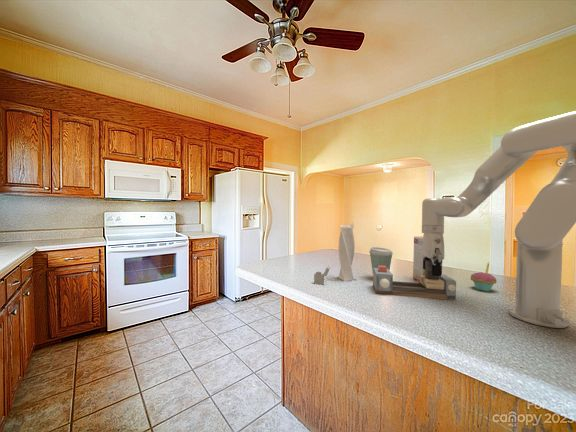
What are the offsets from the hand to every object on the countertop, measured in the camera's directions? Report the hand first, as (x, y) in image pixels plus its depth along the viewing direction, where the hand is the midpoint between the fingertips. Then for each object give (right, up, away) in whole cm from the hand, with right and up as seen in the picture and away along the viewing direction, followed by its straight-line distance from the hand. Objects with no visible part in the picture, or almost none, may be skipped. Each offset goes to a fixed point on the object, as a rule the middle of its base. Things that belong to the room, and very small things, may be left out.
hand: (431, 272), depth 95 cm
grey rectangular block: (+5, -9, -1) cm, 10 cm away
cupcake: (+25, -9, +6) cm, 27 cm away
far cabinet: (-18, -8, +4) cm, 20 cm away
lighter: (-42, -8, +12) cm, 44 cm away
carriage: (0, -5, 0) cm, 5 cm away
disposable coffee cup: (-12, -8, +20) cm, 25 cm away
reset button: (-18, -2, +4) cm, 19 cm away
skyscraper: (-29, -9, +20) cm, 36 cm away
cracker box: (+7, -9, +15) cm, 19 cm away
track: (-7, -9, +2) cm, 11 cm away
